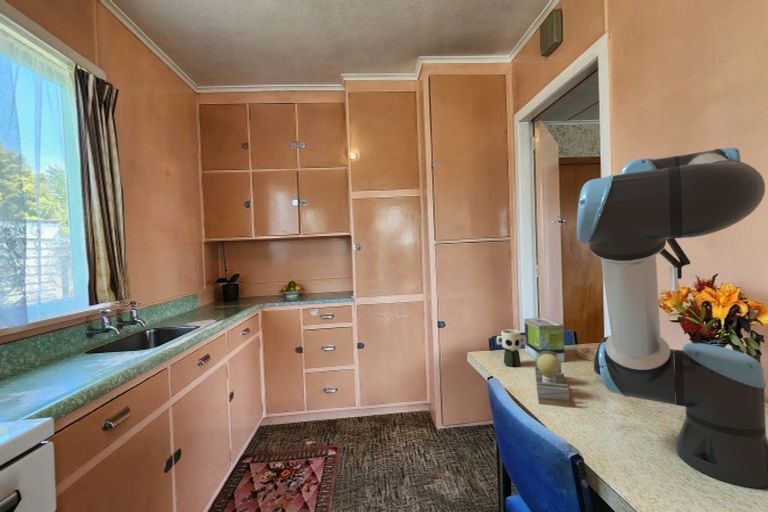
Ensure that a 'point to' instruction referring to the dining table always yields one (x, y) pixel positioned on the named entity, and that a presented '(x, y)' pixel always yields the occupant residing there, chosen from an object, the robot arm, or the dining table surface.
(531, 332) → the tea box
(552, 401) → the grey stacked slabs
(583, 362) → the dining table surface
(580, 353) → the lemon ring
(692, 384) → the robot arm
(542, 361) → the light bulb
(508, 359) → the character mug
